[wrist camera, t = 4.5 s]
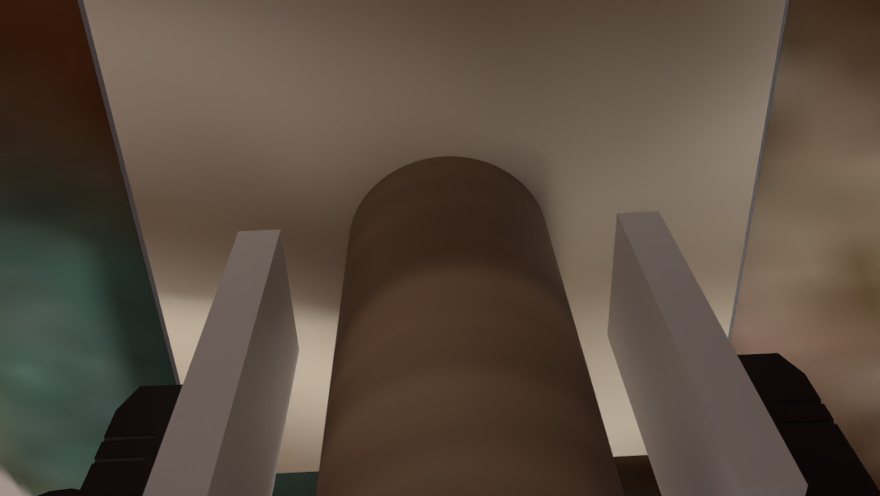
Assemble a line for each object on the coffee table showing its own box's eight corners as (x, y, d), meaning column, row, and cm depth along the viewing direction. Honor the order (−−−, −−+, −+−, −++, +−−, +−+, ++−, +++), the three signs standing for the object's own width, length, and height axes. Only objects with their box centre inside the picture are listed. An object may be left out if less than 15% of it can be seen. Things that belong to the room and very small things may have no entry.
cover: (90, -62, 14) (-278, 148, 7) (776, -93, 15) (1193, 79, 7) (212, 446, 21) (93, 862, 13) (695, 423, 21) (866, 822, 13)
